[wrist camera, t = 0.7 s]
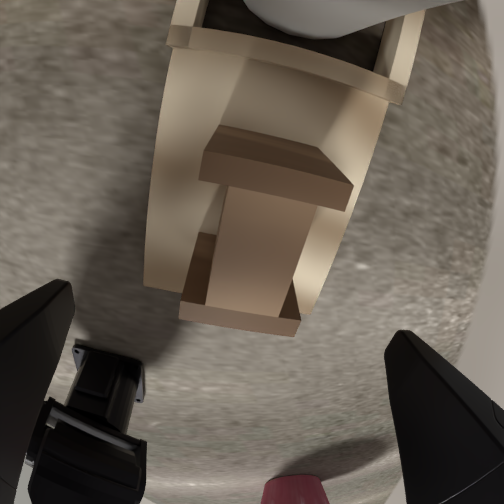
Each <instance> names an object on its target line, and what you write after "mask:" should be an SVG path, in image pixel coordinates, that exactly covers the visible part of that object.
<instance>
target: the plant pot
mask: <svg viewBox="0 0 504 504" xmlns="http://www.w3.org/2000/svg"><path fill="white" fill-rule="evenodd" d="M261 504H329V501H328V498H327V496H326V493H325V491H324V489H323V486H322V484H321V481H320V479H319V478H318V477H316V476H313V475H291V476H284V477H279V478H275V479H273V480H270V481H268V482H267V483H266V484H265V487H264V492H263V496H262V500H261Z"/></svg>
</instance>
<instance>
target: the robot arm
mask: <svg viewBox="0 0 504 504" xmlns="http://www.w3.org/2000/svg"><path fill="white" fill-rule="evenodd" d="M74 312H75V304H74V298H73V292H72V286H71V283H70V282H69V281H65V280H61V279H55V280H53V281H51V282H49V283H47V284H45V285H43V286H42V287H40V288H38V289H36V290H34V291H32V292H30V293H29V294H27V295H25V296H23V297H21V298H20V299H18V300H16V301H14V302H12V303H11V304H9V305H7V306H5V307H3V308H2V309H0V504H14V499H15V495H16V489H17V486H18V481H19V477H20V474H21V470H22V466H23V462H24V459H25V456H26V459H25V464H27V465H29V466H31V467H32V468H33V471H32V474H31V477H30V481H29V484H28V493H29V496H30V499H31V502H32V504H139V503H140V501H141V499H142V497H143V494H144V491H145V486H146V454H147V441H144V440H142V439H140V440H139V439H136V438H134V437H131V436H129V435H126V433H127V429H128V425H129V421H130V417H131V413H132V409H133V405H134V402H137V403H142V402H143V400H144V391H143V368H142V363H141V362H140V361H138V360H135V359H130V358H126V357H122V356H118V355H114V354H110V353H106V352H102V351H98V350H95V349H91V348H87V347H84V346H80V345H76V344H75V345H74V346H73V348H72V353H73V357H74V360H75V364H76V368H77V371H78V372H77V374H76V376H75V379H74V381H73V384H72V386H71V388H70V391H69V394H68V396H67V399H66V401H65V404H64V405H63V404H61V403H59V402H57V401H55V399H54V398H52V397H49V399H48V401H44V398H45V396H46V393H47V390H48V388H49V385H50V383H51V380H52V378H53V375H54V373H55V370H56V368H57V365H58V362H59V360H60V357H61V353H62V350H63V347H64V344H65V340H66V337H67V334H68V331H69V328H70V325H71V322H72V319H73V316H74ZM384 360H385V368H386V375H387V384H388V392H389V400H390V406H391V411H392V416H393V421H394V426H395V431H396V437H397V442H398V448H399V454H400V460H401V466H402V472H403V479H404V486H405V494H406V502H407V504H504V410H503V409H502V408H501V407H500V406H499V405H497V404H496V403H495V402H494V401H493V400H491V399H490V398H489V397H488V396H487V395H486V394H485V393H484V392H483V391H482V390H480V389H479V388H478V387H477V386H476V385H475V384H473V383H472V382H471V381H470V380H469V379H468V378H466V377H465V376H464V375H463V374H462V373H461V372H460V371H458V370H457V369H456V368H455V367H454V366H453V365H451V364H450V363H449V362H448V361H447V360H445V359H444V358H443V357H442V356H441V355H440V354H438V353H437V352H436V351H435V350H434V349H432V348H431V347H430V346H429V345H428V344H426V343H425V342H424V341H423V340H422V339H420V338H419V337H418V336H417V335H416V334H414V333H413V332H412V331H410V330H398V331H397V332H396V333H395V335H394V336H393V338H392V340H391V341H390V343H389V344H388V346H387V348H386V349H385V353H384ZM47 423H48V424H50V425H52V426H53V427H55V428H54V429H53V428H51V427H49V426H47Z"/></svg>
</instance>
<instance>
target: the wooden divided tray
mask: <svg viewBox="0 0 504 504" xmlns="http://www.w3.org/2000/svg"><path fill="white" fill-rule="evenodd" d="M208 2H209V0H177V2H176V6H175V9H174V13H173V17H172V21H171V25H170V29H169V33H168V37H167V41H166V45H167V46H170V47H172V48H173V50H172V55H171V60H170V64H169V69H168V74H167V79H166V84H165V89H164V94H163V100H162V106H161V111H160V117H159V124H158V130H157V137H156V143H155V151H154V158H153V166H152V174H151V183H150V192H149V202H148V213H147V225H146V239H145V255H144V276H143V286H148V287H153V288H157V289H162V290H167V291H173V292H178V293H182V296H181V300H180V308H179V317H178V319H182V320H187V321H193V322H198V323H204V324H209V325H215V326H221V327H227V328H233V329H240V330H246V331H253V332H260V333H267V334H274V335H282V336H289V337H294V336H295V334H296V331H297V329H298V327H299V325H300V322H301V317H300V313H303V314H311V312H312V310H313V307H314V305H315V303H316V300H317V298H318V296H319V294H320V291H321V289H322V287H323V284H324V282H325V279H326V277H327V275H328V272H329V270H330V267H331V265H332V263H333V260H334V258H335V255H336V253H337V250H338V248H339V245H340V243H341V240H342V238H343V235H344V232H345V230H346V227H347V225H348V222H349V219H350V217H351V214H352V211H353V209H354V206H355V203H356V201H357V198H358V195H359V192H360V189H361V187H362V184H363V181H364V178H365V175H366V172H367V169H368V167H369V164H370V161H371V158H372V155H373V152H374V149H375V146H376V142H377V139H378V136H379V133H380V130H381V127H382V123H383V120H384V117H385V114H386V110H387V107H388V104H389V102H390V103H395V104H399V105H402V102H403V99H404V95H405V92H406V88H407V84H408V81H409V77H410V73H411V70H412V66H413V62H414V58H415V54H416V50H417V46H418V42H419V37H420V33H421V28H422V24H423V19H424V14H425V10H421V11H417V12H414V13H410V14H407V15H403V16H400V17H397V18H394V19H390V20H387V21H386V23H385V27H384V32H383V36H382V40H381V44H380V47H379V51H378V55H377V59H376V63H375V66H374V70H373V72H371V71H369V70H366V69H364V68H361V67H358V66H356V65H353V64H350V63H347V62H345V61H342V60H339V59H336V58H333V57H330V56H327V55H323V54H320V53H317V52H314V51H310V50H307V49H303V48H300V47H296V46H292V45H289V44H285V43H281V42H277V41H272V40H268V39H264V38H259V37H254V36H249V35H244V34H239V33H233V32H227V31H221V30H215V29H208V28H202V24H203V20H204V17H205V13H206V9H207V6H208Z"/></svg>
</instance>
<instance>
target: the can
mask: <svg viewBox="0 0 504 504" xmlns="http://www.w3.org/2000/svg"><path fill="white" fill-rule="evenodd" d="M243 1H244V2H245V4H246V6H247V7H248V9H249V10H250V11H252V12H253V13H254V14H255V15H256V16H258V17H259V18H260V19H261V20H262V21H264V22H265V23H266V24H267V25H269V26H272V27H274V28H276V29H278V30H280V31H282V32H285V33H287V34H289V35H293V36H298V37H303V38H308V39H313V40H314V39H332V38H339V37H341V36H344V35H347V34H350V33H353V32H356V31H359V30H361V29H364V28H367V27H370V26H373V25H375V24H378V23H381V22H384V21H387V20H390V19H394V18H397V17H400V16H403V15H407V14H410V13H414V12H417V11H421V10H425V9H428V8H432V7H436V6H441V5H445V4H449V3H454V2H459V1H464V0H243Z"/></svg>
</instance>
